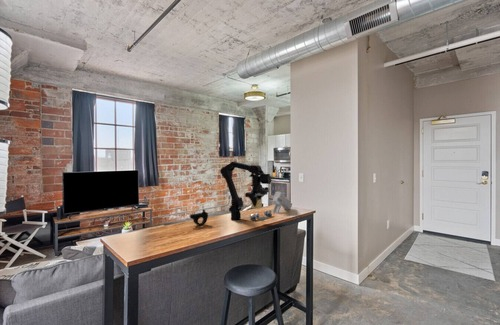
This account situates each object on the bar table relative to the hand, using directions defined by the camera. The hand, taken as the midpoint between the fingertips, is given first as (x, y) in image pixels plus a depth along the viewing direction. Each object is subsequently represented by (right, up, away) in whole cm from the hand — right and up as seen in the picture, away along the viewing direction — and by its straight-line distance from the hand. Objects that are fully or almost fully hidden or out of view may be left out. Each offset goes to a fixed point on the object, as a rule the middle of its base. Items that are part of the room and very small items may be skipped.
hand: (256, 205), depth 171 cm
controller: (-38, -12, -6) cm, 41 cm away
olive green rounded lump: (0, -1, 0) cm, 1 cm away
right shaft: (+9, -11, +16) cm, 21 cm away
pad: (+5, -11, +10) cm, 15 cm away
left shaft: (-1, -11, +6) cm, 13 cm away
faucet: (+22, -10, +34) cm, 42 cm away
